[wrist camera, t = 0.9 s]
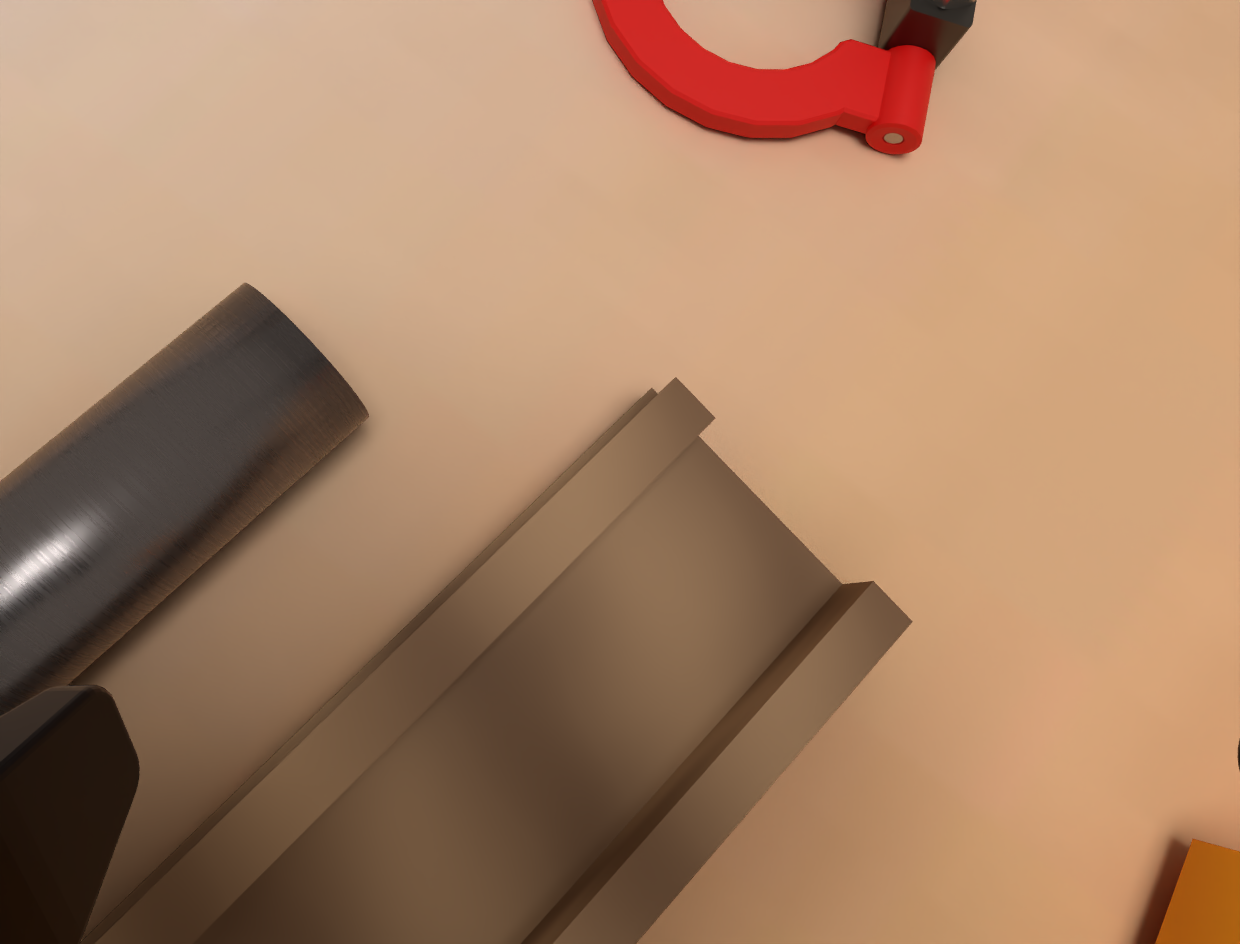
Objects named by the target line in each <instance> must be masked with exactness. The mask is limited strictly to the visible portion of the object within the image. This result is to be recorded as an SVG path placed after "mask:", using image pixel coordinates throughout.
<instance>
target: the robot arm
mask: <svg viewBox="0 0 1240 944" xmlns="http://www.w3.org/2000/svg"><path fill="white" fill-rule="evenodd" d="M1238 765H1239V770H1240V740H1239V745H1238ZM138 781H139V761H138V757H137V754H136V751H135V749H134V746H133V744H132V742H131V739H130V737H129V734H128V732H127V730H126V727H125V725H124V722H123V720H122V718H121V715H120V713H119V710H118V708H117V706H116V703H115V701H114V699H113V697H112V695H111V694H110V693H109V692H108V691H107V690H106V689H104V688H103V687H100V686H96V685H76V686H56V687H52V688H49V689H47V690H45V691H43V692H41V693H39V694H38V695H36V696H34V697H33V698H31V699H29V700H27V701H26V702H24V703H22V704H21V705H19V706H17V707H15V708H14V709H12V710H10V711H9V712H7V713H5V714H3V715H2V716H0V944H80V941H81V939H82V936H83V934H84V931H85V928H86V926H87V923H88V920H89V918H90V915H91V912H92V909H93V907H94V904H95V901H96V899H97V896H98V893H99V890H100V888H101V885H102V882H103V880H104V877H105V874H106V871H107V869H108V866H109V863H110V861H111V858H112V855H113V852H114V850H115V847H116V844H117V842H118V839H119V836H120V833H121V831H122V828H123V825H124V823H125V820H126V817H127V814H128V812H129V809H130V806H131V804H132V801H133V798H134V795H135V793H136V789H137V786H138Z"/></svg>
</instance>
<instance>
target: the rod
mask: <svg viewBox="0 0 1240 944" xmlns="http://www.w3.org/2000/svg"><path fill="white" fill-rule="evenodd" d="M368 417H369V414H368V411H367V410H366V408H365V406H364V405H363V403H362V402H361V400H360V399H359V398H358V396H357V395H356V393H355V392H354V391H353V390H352V388H351V387H350V386H349V384H348V383H347V382H346V381H345V380H344V378H343V377H342V376H341V375H340V374H339V372H338V371H337V370H336V369H335V368H334V367H333V365H332V364H331V363H330V362H329V361H328V360H327V359H326V357H325V356H324V355H323V354H322V353H321V352H320V351H319V350H318V349H317V347H316V346H315V345H314V344H313V343H312V342H311V341H310V340H309V339H308V338H307V337H306V336H305V335H304V334H303V333H302V332H301V331H300V330H299V328H298V327H297V326H296V325H295V324H294V323H293V322H292V321H291V320H290V319H289V318H288V317H287V316H286V315H285V314H283V313H282V312H281V311H280V310H279V309H278V308H277V307H276V306H275V305H274V304H273V303H272V302H271V301H270V300H268V299H267V298H266V297H265V296H264V295H263V294H261V293H260V292H259V291H258V290H256V289H255V288H254V287H252V286H251V285H249V284H247V283H243V284H242V285H241V286H240V287H238V288H237V289H236V290H235V291H233V292H232V293H231V294H230V295H229V296H227V297H226V298H225V299H224V300H222V301H221V302H220V303H219V304H217V305H216V306H215V307H214V308H213V309H211V310H210V311H209V312H208V313H206V314H205V315H204V316H203V317H201V318H200V319H199V320H198V321H197V322H195V323H194V324H193V325H192V326H190V327H189V328H188V329H187V330H186V331H184V332H183V333H182V334H181V335H179V336H178V337H177V338H176V339H174V340H173V341H172V342H171V343H170V344H168V345H167V346H166V347H165V348H163V349H162V350H161V351H160V352H158V353H157V354H156V355H155V356H154V357H152V358H151V359H150V360H149V361H147V362H146V363H145V364H144V365H142V366H141V367H140V368H139V369H138V370H136V371H135V372H134V373H133V374H131V375H130V376H129V377H128V378H127V379H125V380H124V381H123V382H122V383H120V384H119V385H118V386H117V387H115V388H114V389H113V390H112V391H111V392H109V393H108V394H107V395H106V396H104V397H103V398H102V399H101V400H99V401H98V402H97V403H96V404H95V405H93V406H92V407H91V408H90V409H88V410H87V411H86V412H85V413H83V414H82V415H81V416H80V417H79V418H77V419H76V420H75V421H74V422H72V423H71V424H70V425H69V426H68V427H66V428H65V429H64V430H63V431H61V432H60V433H59V434H58V435H56V436H55V437H54V438H53V439H52V440H50V441H49V442H48V443H47V444H45V445H44V446H43V447H42V448H40V449H39V450H38V451H37V452H36V453H34V454H33V455H32V456H31V457H29V458H28V459H27V460H26V461H24V462H23V463H22V464H21V465H20V466H18V467H17V468H16V469H15V470H13V471H12V472H11V473H10V474H9V475H7V476H6V477H5V478H4V479H2V480H1V481H0V716H2V715H3V714H5V713H7V712H9V711H10V710H12V709H14V708H15V707H17V706H19V705H21V704H22V703H24V702H26V701H27V700H29V699H31V698H33V697H34V696H36V695H38V694H39V693H41V692H43V691H45V690H47V689H49V688H52V687H56V686H67V685H68V684H70V683H71V682H72V681H73V680H74V679H75V678H76V677H77V676H79V675H80V674H81V673H82V672H83V671H84V670H85V669H86V668H88V667H89V666H90V665H91V664H92V663H93V662H94V661H95V660H97V659H98V658H99V657H100V656H101V655H102V654H103V653H104V652H106V651H107V650H108V649H109V648H110V647H111V646H112V645H113V644H114V643H116V642H117V641H118V640H119V639H120V638H121V637H122V636H123V635H125V634H126V633H127V632H128V631H129V630H130V629H131V628H132V627H134V626H135V625H136V624H137V623H138V622H139V621H140V620H141V619H143V618H144V617H145V616H146V615H147V614H148V613H149V612H150V611H152V610H153V609H154V608H155V607H156V606H157V605H158V604H159V603H161V602H162V601H163V600H164V599H165V598H166V597H167V596H168V595H170V594H171V593H172V592H173V591H174V590H175V589H176V588H177V587H179V586H180V585H181V584H182V583H183V582H184V581H185V580H186V579H188V578H189V577H190V576H191V575H192V574H193V573H194V572H195V571H197V570H198V569H199V568H200V567H201V566H202V565H203V564H204V563H206V562H207V561H208V560H209V559H210V558H211V557H212V556H213V555H214V554H216V553H217V552H218V551H219V550H220V549H221V548H222V547H223V546H225V545H226V544H227V543H228V542H229V541H230V540H231V539H232V538H234V537H235V536H236V535H237V534H238V533H239V532H240V531H241V530H243V529H244V528H245V527H246V526H247V525H248V524H249V523H250V522H252V521H253V520H254V519H255V518H256V517H257V516H258V515H259V514H261V513H262V512H263V511H264V510H265V509H266V508H267V507H268V506H270V505H271V504H272V503H273V502H274V501H275V500H276V499H277V498H279V497H280V496H281V495H282V494H283V493H284V492H285V491H286V490H288V489H289V488H290V487H291V486H292V485H293V484H294V483H295V482H297V481H298V480H299V479H300V478H301V477H302V476H303V475H304V474H305V473H307V472H308V471H309V470H310V469H311V468H312V467H313V466H314V465H316V464H317V463H318V462H319V461H320V460H321V459H322V458H323V457H325V456H326V455H327V454H328V453H329V452H330V451H331V450H332V449H334V448H335V447H336V446H337V445H338V444H339V443H340V442H341V441H343V440H344V439H345V438H346V437H347V436H348V435H349V434H350V433H352V432H353V431H354V430H355V429H356V428H357V427H358V426H359V425H361V424H362V423H363V422H364V421H365V420H366V419H367V418H368Z"/></svg>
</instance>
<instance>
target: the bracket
mask: <svg viewBox="0 0 1240 944" xmlns="http://www.w3.org/2000/svg"><path fill="white" fill-rule="evenodd" d="M1155 944H1240V852H1239V851H1236V850H1232V849H1228V848H1225V847H1221V846H1217V845H1214V844H1210V843H1206V842H1203V841H1199V840H1196V839H1193V840H1192V842H1191V845H1190V848H1189V851H1188V854H1187V856H1186V859H1185V862H1184V865H1183V868H1182V870H1181V873H1180V876H1179V879H1178V882H1177V884H1176V887H1175V890H1174V893H1173V895H1172V898H1171V901H1170V904H1169V907H1168V909H1167V912H1166V915H1165V918H1164V921H1163V923H1162V926H1161V929H1160V932H1159V935H1158V937H1157V940H1156V943H1155Z"/></svg>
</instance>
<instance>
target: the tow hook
mask: <svg viewBox="0 0 1240 944" xmlns="http://www.w3.org/2000/svg"><path fill="white" fill-rule="evenodd" d="M592 1H593V4H594V6H595V9H596V12H597V14H598V17H599V20H600V23H601V25H602V28H603V31H604V33H605V36H606V39H607V41H608V42H609V44H610V45H611V47H612V48H613V50H614V51H615V52H616V54H617V55H618V57H619V58H620V60H621V61H622V62H623V64H624V65H625V67H626V68H627V70H628V71H629V72H630V74H631V75H632V77H634V78H635V79H636V80H637V81H638V82H639V83H640V84H642V85H643V86H644V87H645V88H646V89H647V90H648V91H650V92H651V93H652V94H653V95H654V96H655V97H656V98H658V99H659V100H660V101H661V102H662V103H663V104H664V105H666V106H667V107H669V108H671V109H673V110H675V111H677V112H678V113H680V114H682V115H684V116H686V117H688V118H690V119H692V120H694V121H696V122H697V123H699V124H701V125H703V126H705V127H708V128H712V129H716V130H720V131H724V132H728V133H732V134H736V135H740V136H744V137H748V138H792V137H796V136H800V135H803V134H807V133H811V132H815V131H818V130H822V129H826V128H829V127H832V126H833V125H838V126H841V127H845V128H848V129H851V130H855V131H858V132H861V133H864V134H866V141H867V143H868V144H869V145H870V146H871V147H872V148H874V149H875V150H878V151H880V152H883V153H888V154H905V153H909V152H912V151H914V150H916V149H917V148H918V147H919V146H920V144H921V142H922V137H923V131H924V126H925V120H926V115H927V110H928V104H929V99H930V93H931V88H932V82H933V77H934V71H935V70H936V68H937V67H938V66H939V65H940V64H941V62H942V61H943V60H944V59H945V57H946V56H947V55H948V54H949V53H950V51H951V50H952V49H953V48H954V46H955V45H956V44H957V43H958V42H959V40H960V39H961V38H962V37H963V35H964V34H965V33H966V32H967V31H968V29H969V28H970V27H971V26H972V23H973V17H974V12H975V6H976V0H887V3H886V8H885V13H884V19H883V24H882V29H881V34H880V39H879V44H878V47H874V46H871V45H868V44H865V43H862V42H858V41H855V40H852V39H850V40H846V41H843V42H840V43H839V44H838V45H837V46H836V47H835V49H834V50H832V51H831V52H829V53H827V54H826V55H824V56H822V57H820V58H819V59H817V60H815V61H814V62H812V63H809V64H805V65H801V66H797V67H793V68H789V69H785V70H782V69H754V68H751V67H747V66H743V65H739V64H735V63H731V62H728V61H727V60H725V59H723V58H721V57H719V56H717V55H715V54H713V53H711V52H710V51H708V50H706V49H704V48H703V47H701V46H700V45H699V44H698V43H697V42H696V41H695V40H693V39H692V38H691V37H690V36H689V35H688V34H687V33H685V32H684V31H683V30H682V29H681V28H680V26H679V25H678V24H677V22H676V21H675V19H674V18H673V17H672V15H671V14H670V12H669V11H668V9H667V8H666V7H665V5H664V2H663V0H592Z"/></svg>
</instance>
